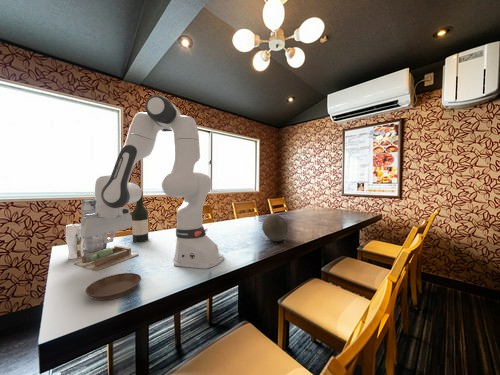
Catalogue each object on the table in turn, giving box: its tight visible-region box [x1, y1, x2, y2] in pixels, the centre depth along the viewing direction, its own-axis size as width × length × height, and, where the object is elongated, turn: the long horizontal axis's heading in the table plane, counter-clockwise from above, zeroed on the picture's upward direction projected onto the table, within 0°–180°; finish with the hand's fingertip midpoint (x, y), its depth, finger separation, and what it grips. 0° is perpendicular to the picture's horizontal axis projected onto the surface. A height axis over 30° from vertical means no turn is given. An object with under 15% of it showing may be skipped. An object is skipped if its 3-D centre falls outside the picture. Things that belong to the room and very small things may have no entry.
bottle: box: [86, 247, 113, 263], centre depth 87 cm, size 4×4×9 cm
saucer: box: [85, 272, 142, 301], centre depth 65 cm, size 15×15×3 cm
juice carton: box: [80, 197, 108, 253], centre depth 104 cm, size 9×10×27 cm
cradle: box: [73, 245, 140, 272], centre depth 90 cm, size 16×18×4 cm
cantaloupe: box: [261, 214, 289, 242], centre depth 115 cm, size 14×14×15 cm
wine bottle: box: [131, 190, 149, 243], centre depth 119 cm, size 8×8×30 cm
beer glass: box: [65, 223, 86, 260], centre depth 93 cm, size 7×7×15 cm
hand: (108, 242), depth 91 cm, fingers closed
